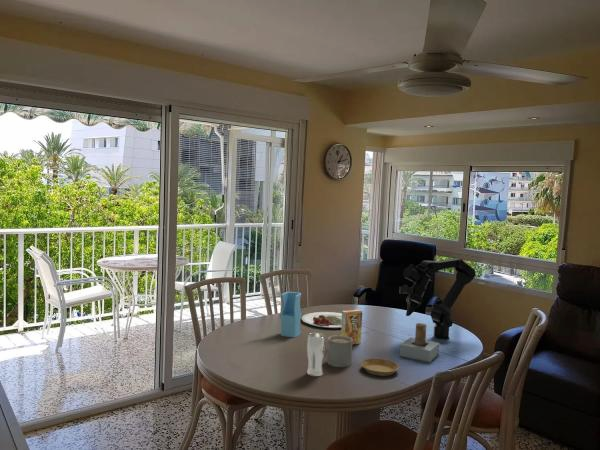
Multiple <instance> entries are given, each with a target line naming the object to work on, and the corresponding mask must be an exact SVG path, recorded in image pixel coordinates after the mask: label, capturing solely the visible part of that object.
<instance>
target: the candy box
mask: <svg viewBox="0 0 600 450" xmlns="http://www.w3.org/2000/svg"><path fill="white" fill-rule="evenodd" d="M341 314H342V322H341V328H340V335H342V336H348V337H350V338H352V340H353V342H352V345H359V344H360V345H361V344H362V328H363V327H362V325H363V311H362V310H360V309H349V310H342V311H341Z"/></svg>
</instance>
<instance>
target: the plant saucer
mask: <svg viewBox="0 0 600 450" xmlns="http://www.w3.org/2000/svg"><path fill="white" fill-rule="evenodd" d="M360 365H361V366H362V368H363V369H364V370H365V371H366V372H367V373H369V374H371V375H374V376H378V377H386V376H387V377H389V376H392V375H393V374H395V373H396V372H397V371H398V370H399V368H400V366H399V365H398V363H396V362H394V361H392V360H389V359H384V358H367V359H364V360H362V361H361V362H360Z"/></svg>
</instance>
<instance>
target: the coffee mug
mask: <svg viewBox="0 0 600 450" xmlns="http://www.w3.org/2000/svg"><path fill="white" fill-rule="evenodd" d="M352 342H353V340H352V338H350V337H348V336H342V335H341V334H339V335H334V334H333V335H330V336H329V337H328V338H327V354H326V355H327V358H326V363H327V364H328V365H329V366H331V367H336V368H347V367H350V366H351V365H352V361H353V360H352V359H353V344H352Z"/></svg>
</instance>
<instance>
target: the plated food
mask: <svg viewBox="0 0 600 450" xmlns="http://www.w3.org/2000/svg"><path fill="white" fill-rule="evenodd" d="M301 320H302V322H304V323H306V324H308V325H310V326H314V327H318V328H324V329H341V322H342V312H333V311H331V312H330V311H318V312H315V311H314V312H310V313H305V314H304V315H302V316H301Z"/></svg>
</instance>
